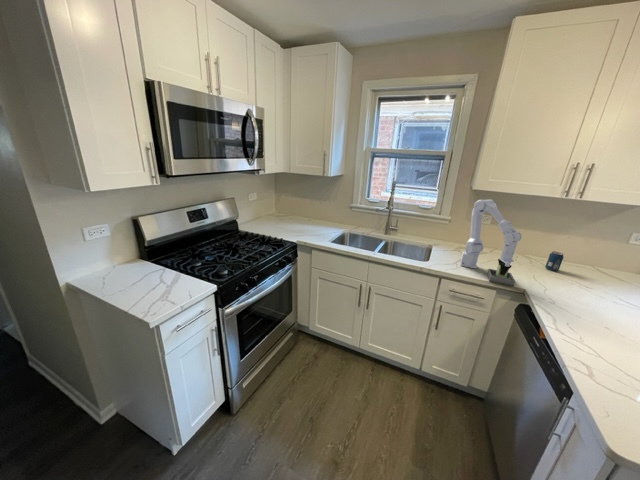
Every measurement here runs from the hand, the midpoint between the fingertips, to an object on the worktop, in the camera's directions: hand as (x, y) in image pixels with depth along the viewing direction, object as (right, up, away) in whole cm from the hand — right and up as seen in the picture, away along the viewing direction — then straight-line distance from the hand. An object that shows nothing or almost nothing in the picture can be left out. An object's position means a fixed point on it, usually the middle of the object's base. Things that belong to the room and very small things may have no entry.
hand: (501, 273), depth 156 cm
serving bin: (0, -4, +1) cm, 4 cm away
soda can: (+47, 0, +20) cm, 51 cm away
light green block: (0, -2, +1) cm, 2 cm away
